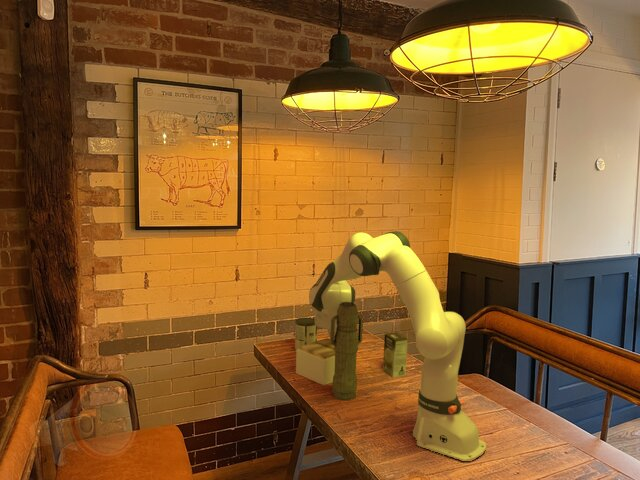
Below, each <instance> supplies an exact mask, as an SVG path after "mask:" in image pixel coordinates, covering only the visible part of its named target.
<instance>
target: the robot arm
mask: <svg viewBox="0 0 640 480" xmlns="http://www.w3.org/2000/svg"><path fill="white" fill-rule="evenodd" d="M380 272H385V273H386V274H387V275H389V277H390V280H391V282H392V283H393V286H395V288H396V290H397V292H398V294H399V296H400V299H401V300H402V302H403V305H405V307H406V310H407V312H408V315H409V318H410V321H411V325H412V328H413V331H414V334H415V347H416V349H417V350H418V351H417V352H419V354H421V356H423V357H424V359H423V363H422V365H421V374H420V386H419V387H420V390H419V391H418V397H417V404H418V411H417V415H416V416H417V417H416V421H415V423H414V427H413V429H412V432H413V433H412V437H413V438H414V437H415V438H416V439H415V438H414V439H415V441H416V440H417V441H416V442H417V443H416V446H417V445H418V446H421V447H424V448H426V449H430V450H432V451H435V452H438V453H441V454H444V455H448V456H451V457H455V458H458V459H460V460H463V461H468V460H472V459H475V458H477V457H478V456H480V455H481V454H482V453H483V452H484V451H485V449H486V450H487V443H486V442H485V441H484V440H482V439H480V434H479V429H478V426H477V425H476V424H475V422H473V421H472V420H471V418H470V417H469V416H468V414H466V412H464V410H463V409H462V406H464V403H465V400H461V401H460V400H459V397H458V395H457V391H458V377H459V370H460V365H461V359H462V354H463V349H464V343H465V335H466V331H467V330H466V328H467V326H466V321H465V320H464V318H463V316H462V315H460V313H459V314H458V313H457V312H455V311H444V308H443V306H442V302H441V299H440V292H439V290H438V288H437V286H436V285H435V283H434V282H433V279H432V278H431V275H430V274H429V272H428V271H427V269H426V267H425V266H424V264H423V263H422V261H421V259H419V257H418V256H417V254H416V253H415V252H414V251H413V249H412V248H411V244H410V241H409V239H408V237H407V236H406V235H405V234H404V233H402V232H401V231H396V230H395V231H389V232H385V233H383V234H381V235H378V236H376V237H373V236H371V235H370V234H368V233H366V232H362V231H361V232H356V233H354V234H353V235H352V236H351V237H350V238H349V239H348V241H347V242H346V244H345V246H344V247H343V250H342V253H341V254H340V255H339V256H338V257H337V258H335V260H333V261H331V262H329V263H328V264H327V265H326V267H325V268H324V270H323V271H322V273H321V274H320V276H319V278H318V279H317V280H316V283H315V284H313V286H311V287H310V289H309V293H308V301H309V305H310V306H311V307H312V308H314V309H315V313H314V319H315V325H316V326H317V328H321V329H324V330H326V331H327V333H328V336H329V339H330V340H331V320H332V318H333V317H334V316H335V315H337V310H338V307H339V304H341V303H343V302H351V303H354V304H355V302H356V289H355V288H354V286H352V285H351V284H350V283H348V281H350V280H356V279H360V278H361V277H369V276H370V277H371V276H379V274H380ZM336 328H337V319H336V320H335V328H334V337H335V333H336ZM418 446H417V447H418ZM426 449H425V450H426ZM432 451H431V452H432ZM435 452H434V453H435ZM485 452H486V451H485ZM438 453H437V454H438ZM441 454H440V455H441ZM444 455H443V456H444ZM470 457H471V458H470Z"/></svg>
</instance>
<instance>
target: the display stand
mask: <svg viewBox="0 0 640 480" xmlns="http://www.w3.org/2000/svg"><path fill="white" fill-rule="evenodd" d="M295 352H296V355H295V374H297V375H300V376H302V377H305V378H306V379H309V380H310V381H313V382H315V383H318V384H319V385H322V386H326V385H328V384H331V383H333V376H334V373H335V356H333V357H330V358H327V359H323V358H320V357H318V356H315V355H313V354H310V353H308V352H305V351H302V350H300V349H297V350H296V351H295Z"/></svg>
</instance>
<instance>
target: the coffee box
mask: <svg viewBox="0 0 640 480" xmlns="http://www.w3.org/2000/svg"><path fill="white" fill-rule="evenodd" d="M383 342H384V343H383V362H382V370H383V371H384V372H385V373H387V374H388V376H391V378H394V379H395V378H399V377H406V374H407V361H408V360H407V358H408V344H409V343H408V342H409V339H408V338H407V337H405V336H404V335H402V334H401V333H400V332H398V331H396V332H388V333H387V332H385V333H384V341H383Z"/></svg>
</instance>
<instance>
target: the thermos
mask: <svg viewBox="0 0 640 480" xmlns="http://www.w3.org/2000/svg"><path fill="white" fill-rule="evenodd" d="M358 311H359V310H358V308H357V305H356V304H355V302H354V303H351V302H343V303H341V304H339V307H338V310H337V315H335V316H334V317H333V318H332V320H331V344H332V345H334V350H335V373H334V376H333V382H332V396H334V397H335V398H334V397H333V398H334V399H336V398H337V399H336V400H339V399H340V400H339V401H352V400H354V399H355V398H357V397H356V396H357V390H358V389H357V387H358V386H357V385H358V379H357V375H356V374H357V353H358V350H359V345H360V344H361V343H362V341H363V327H364V326H363V325H364V319H363V318H362V317H361V316H360V314H359V312H358ZM336 319H337V328H336V333H335V334H334V328H335V320H336ZM334 336H335V337H334ZM351 399H352V400H351Z"/></svg>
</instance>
